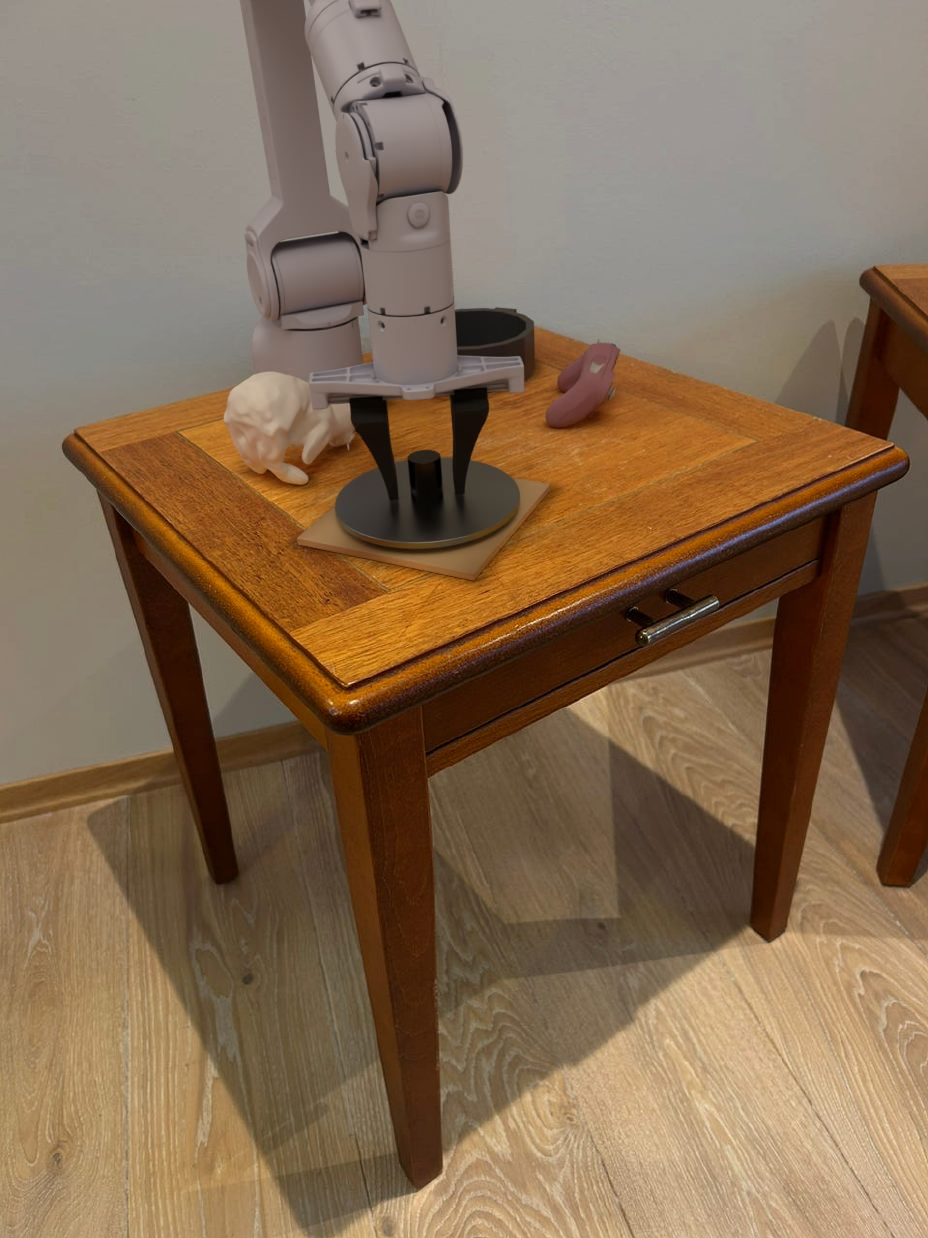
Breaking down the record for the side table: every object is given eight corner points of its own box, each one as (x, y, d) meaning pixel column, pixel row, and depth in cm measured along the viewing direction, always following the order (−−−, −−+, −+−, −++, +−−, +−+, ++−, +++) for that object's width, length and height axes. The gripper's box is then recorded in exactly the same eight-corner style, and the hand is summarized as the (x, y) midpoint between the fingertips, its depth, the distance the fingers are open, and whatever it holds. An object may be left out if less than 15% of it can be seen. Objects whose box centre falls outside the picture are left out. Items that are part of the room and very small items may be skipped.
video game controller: (586, 448, 84) (626, 379, 80) (539, 424, 84) (577, 354, 80) (596, 404, 92) (633, 340, 88) (554, 382, 92) (588, 317, 88)
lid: (300, 536, 69) (291, 482, 67) (393, 459, 79) (387, 409, 77) (472, 571, 64) (468, 514, 62) (547, 484, 74) (547, 432, 72)
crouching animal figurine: (209, 375, 74) (320, 344, 82) (222, 480, 78) (327, 440, 87) (266, 390, 71) (376, 356, 79) (276, 499, 75) (380, 456, 83)
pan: (372, 395, 93) (367, 350, 90) (454, 337, 106) (452, 296, 104) (492, 411, 88) (490, 364, 86) (562, 348, 101) (562, 305, 99)
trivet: (297, 544, 70) (296, 537, 69) (391, 465, 80) (391, 458, 79) (474, 581, 64) (473, 573, 64) (550, 490, 74) (550, 483, 74)
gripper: (295, 331, 60) (325, 525, 67) (529, 313, 60) (532, 507, 68) (302, 299, 65) (328, 481, 73) (515, 282, 66) (519, 465, 74)
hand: (426, 491), depth 71 cm, fingers open, 4 cm apart
